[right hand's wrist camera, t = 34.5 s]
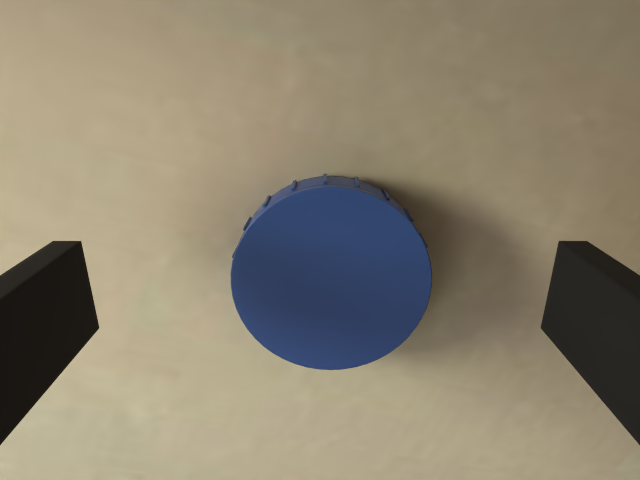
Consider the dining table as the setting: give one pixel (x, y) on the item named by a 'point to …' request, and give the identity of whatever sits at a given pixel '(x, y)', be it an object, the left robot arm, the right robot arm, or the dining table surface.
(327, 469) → the dining table surface
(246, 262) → the lid
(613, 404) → the right robot arm
